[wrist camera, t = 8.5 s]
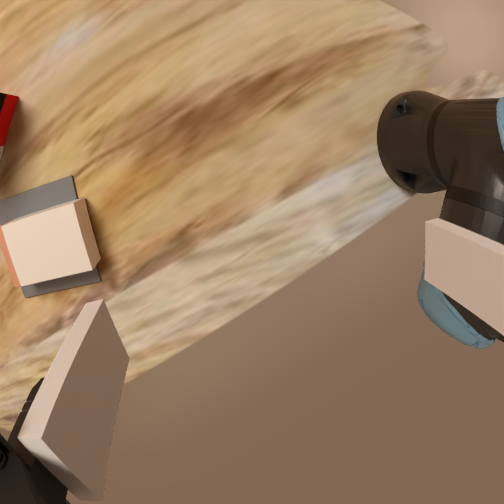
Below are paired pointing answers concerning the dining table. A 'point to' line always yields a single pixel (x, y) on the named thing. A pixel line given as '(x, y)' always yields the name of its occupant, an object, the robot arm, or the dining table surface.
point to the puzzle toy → (6, 116)
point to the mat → (35, 202)
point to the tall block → (49, 243)
